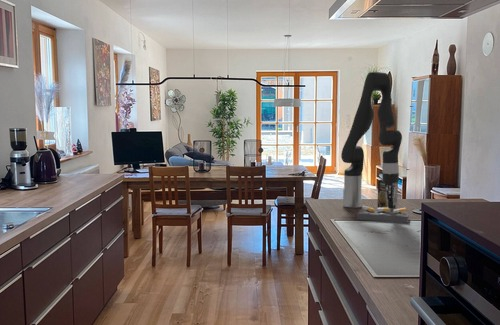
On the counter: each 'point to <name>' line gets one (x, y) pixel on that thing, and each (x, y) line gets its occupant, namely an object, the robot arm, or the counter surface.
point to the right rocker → (399, 210)
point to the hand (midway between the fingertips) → (390, 207)
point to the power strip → (383, 216)
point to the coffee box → (383, 195)
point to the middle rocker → (383, 209)
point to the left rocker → (368, 208)
